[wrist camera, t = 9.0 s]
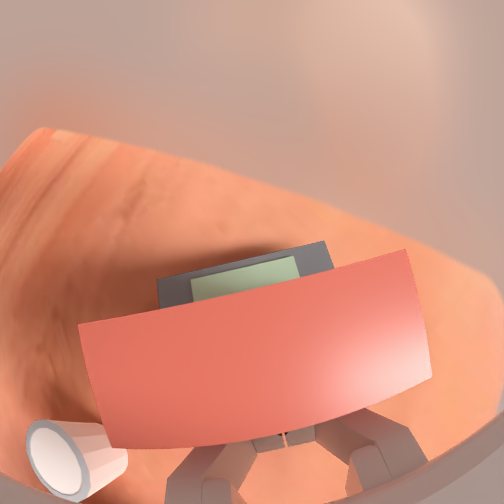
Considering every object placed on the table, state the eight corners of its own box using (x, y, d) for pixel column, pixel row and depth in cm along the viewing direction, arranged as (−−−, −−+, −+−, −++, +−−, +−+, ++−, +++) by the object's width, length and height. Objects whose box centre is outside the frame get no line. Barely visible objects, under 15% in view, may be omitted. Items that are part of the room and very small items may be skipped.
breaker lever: (311, 335, 16) (432, 376, 4) (209, 359, 16) (112, 448, 4) (301, 295, 17) (405, 248, 5) (200, 319, 17) (77, 324, 4)
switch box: (348, 381, 19) (386, 379, 12) (199, 415, 19) (163, 431, 12) (314, 268, 24) (331, 219, 17) (178, 299, 23) (140, 263, 16)
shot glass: (96, 488, 15) (51, 505, 9) (64, 427, 18) (14, 429, 12) (148, 473, 16) (107, 497, 10) (110, 406, 19) (60, 408, 13)
